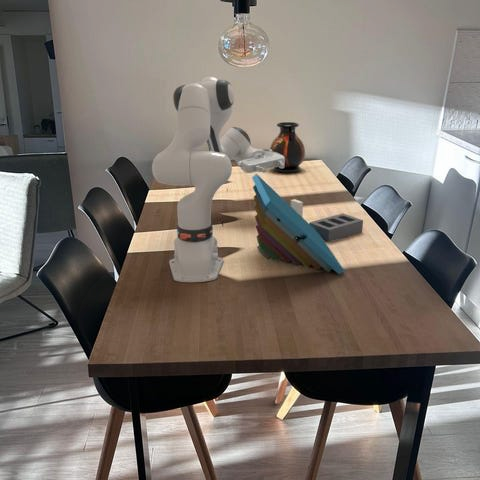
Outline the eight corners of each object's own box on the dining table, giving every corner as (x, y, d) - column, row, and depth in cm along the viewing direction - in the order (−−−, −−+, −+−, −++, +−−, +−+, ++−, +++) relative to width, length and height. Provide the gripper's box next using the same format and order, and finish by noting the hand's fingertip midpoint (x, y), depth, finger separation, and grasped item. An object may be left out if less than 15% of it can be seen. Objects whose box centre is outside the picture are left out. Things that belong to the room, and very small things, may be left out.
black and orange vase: (263, 168, 304) (264, 122, 294) (296, 165, 310) (297, 120, 300) (276, 176, 285) (277, 127, 275) (310, 173, 291) (312, 125, 281)
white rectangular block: (301, 230, 201) (302, 202, 196) (298, 231, 200) (299, 203, 195) (293, 226, 205) (294, 199, 200) (290, 227, 203) (290, 200, 199)
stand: (362, 231, 198) (363, 220, 196) (328, 242, 188) (329, 230, 186) (342, 224, 206) (342, 213, 205) (308, 234, 196) (309, 222, 195)
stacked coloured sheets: (286, 263, 197) (223, 206, 186) (318, 232, 193) (256, 173, 182) (305, 305, 165) (230, 240, 153) (344, 270, 161) (270, 200, 150)
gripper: (234, 156, 207) (254, 166, 197) (273, 148, 217) (293, 157, 207) (234, 170, 210) (253, 180, 200) (272, 162, 220) (292, 171, 210)
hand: (274, 168), depth 203 cm, fingers open, 8 cm apart
